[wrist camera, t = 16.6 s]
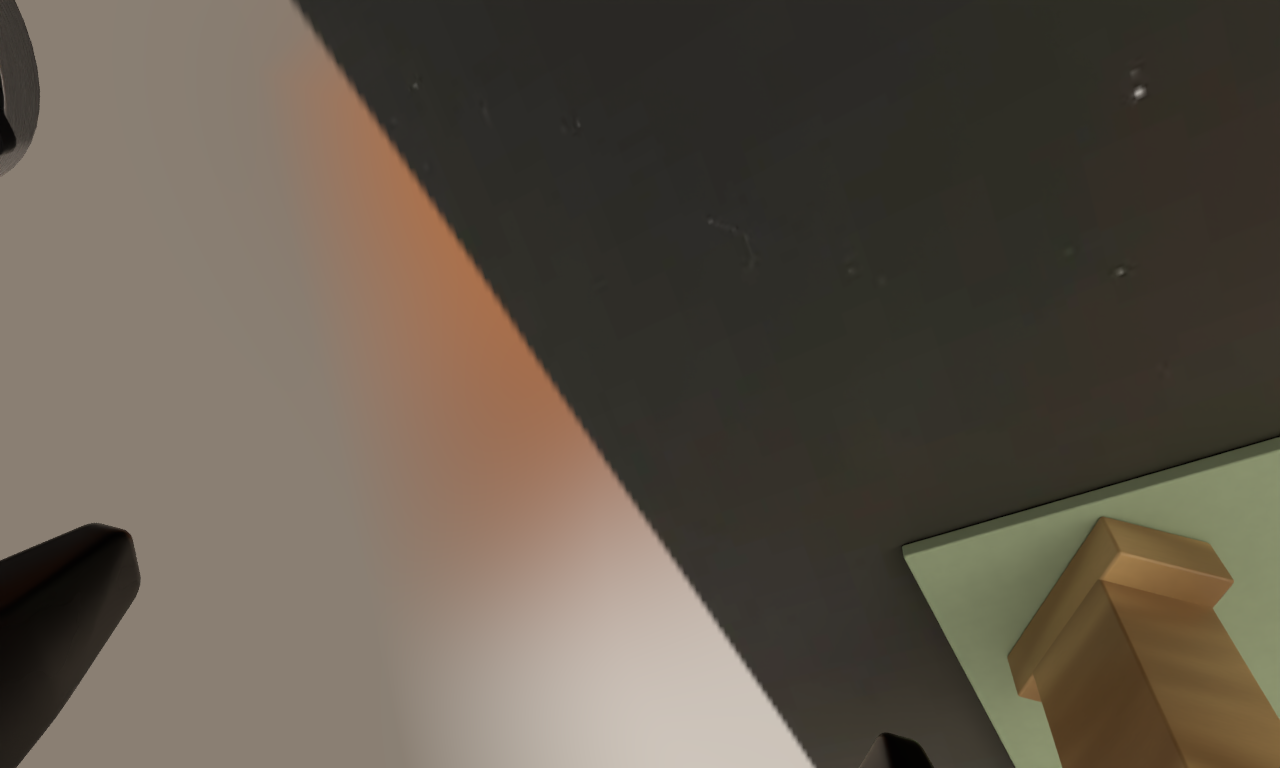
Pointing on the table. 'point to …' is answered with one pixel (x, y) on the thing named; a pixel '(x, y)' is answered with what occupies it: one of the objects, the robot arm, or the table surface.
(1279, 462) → the word mat
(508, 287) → the table surface
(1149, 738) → the letter I
